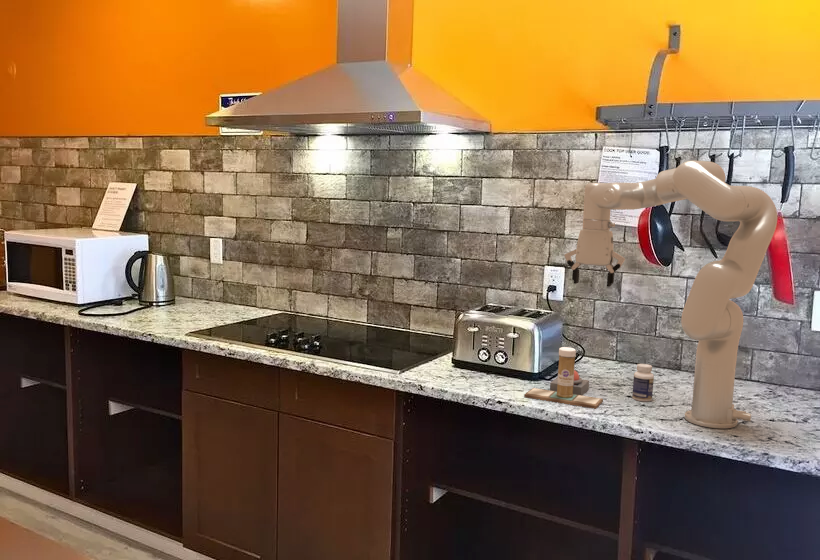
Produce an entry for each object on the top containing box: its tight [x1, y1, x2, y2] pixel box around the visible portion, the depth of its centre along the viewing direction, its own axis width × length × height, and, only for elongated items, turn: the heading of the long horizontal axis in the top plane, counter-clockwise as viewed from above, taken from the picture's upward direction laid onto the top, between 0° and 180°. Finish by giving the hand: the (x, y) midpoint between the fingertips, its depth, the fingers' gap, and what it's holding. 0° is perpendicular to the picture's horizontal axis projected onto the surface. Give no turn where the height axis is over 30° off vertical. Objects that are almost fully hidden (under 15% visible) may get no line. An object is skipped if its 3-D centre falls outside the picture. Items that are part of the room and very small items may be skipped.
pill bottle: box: [631, 363, 655, 403], centre depth 211 cm, size 5×5×10 cm
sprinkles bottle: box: [556, 346, 577, 398], centre depth 208 cm, size 5×5×13 cm
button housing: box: [549, 376, 590, 396], centre depth 218 cm, size 9×9×3 cm
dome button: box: [573, 369, 583, 385], centre depth 218 cm, size 7×7×6 cm
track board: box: [523, 387, 604, 410], centre depth 209 cm, size 20×8×1 cm, turn 63°
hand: (592, 284), depth 219 cm, fingers open, 9 cm apart
